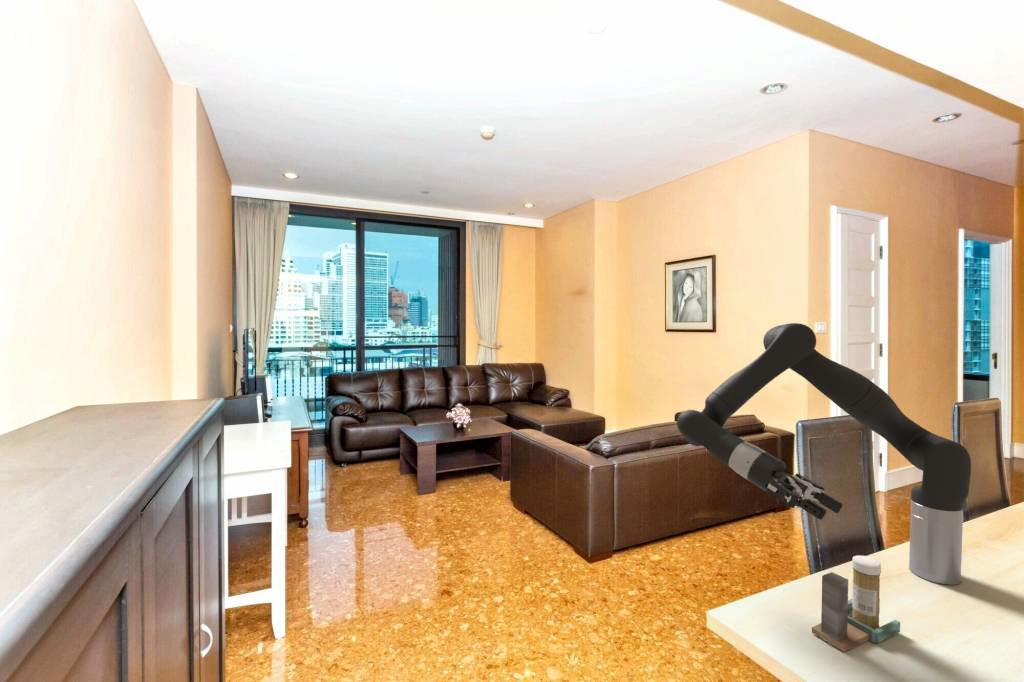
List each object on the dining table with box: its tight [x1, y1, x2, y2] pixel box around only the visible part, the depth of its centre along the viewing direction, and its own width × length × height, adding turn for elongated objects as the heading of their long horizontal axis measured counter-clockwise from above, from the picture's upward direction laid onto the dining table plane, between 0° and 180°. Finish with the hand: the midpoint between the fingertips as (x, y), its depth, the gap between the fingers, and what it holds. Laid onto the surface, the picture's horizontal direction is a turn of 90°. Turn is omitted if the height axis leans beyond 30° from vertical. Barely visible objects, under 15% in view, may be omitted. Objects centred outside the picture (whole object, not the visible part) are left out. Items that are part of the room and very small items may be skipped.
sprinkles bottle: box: [851, 555, 882, 630], centre depth 94 cm, size 5×5×13 cm
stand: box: [811, 571, 901, 653], centre depth 92 cm, size 16×9×12 cm, turn 115°
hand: (832, 512), depth 93 cm, fingers open, 8 cm apart
